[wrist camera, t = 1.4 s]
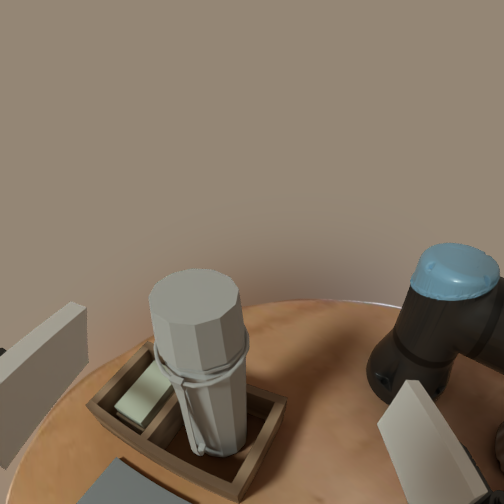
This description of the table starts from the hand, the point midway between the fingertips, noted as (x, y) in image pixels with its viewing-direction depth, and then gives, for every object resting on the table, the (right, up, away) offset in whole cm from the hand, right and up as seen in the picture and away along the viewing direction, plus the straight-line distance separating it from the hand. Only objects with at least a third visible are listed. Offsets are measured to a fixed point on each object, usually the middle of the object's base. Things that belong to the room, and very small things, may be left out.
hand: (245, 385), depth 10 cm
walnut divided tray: (-8, -19, +23) cm, 31 cm away
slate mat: (-14, -26, +10) cm, 32 cm away
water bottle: (-4, -20, +22) cm, 30 cm away
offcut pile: (-14, -18, +26) cm, 34 cm away
